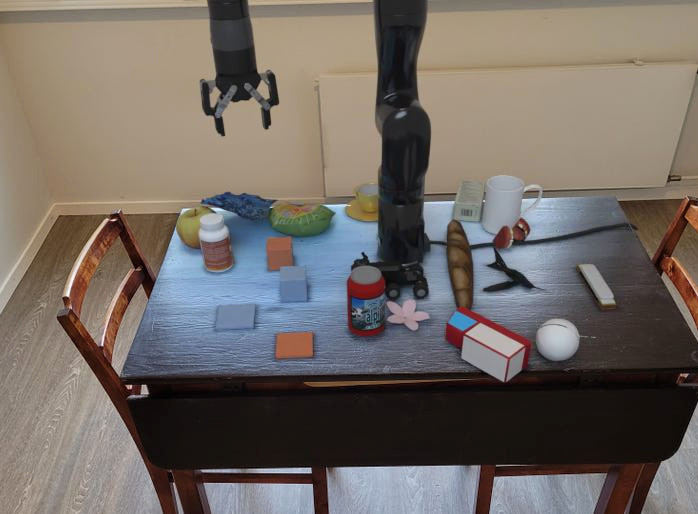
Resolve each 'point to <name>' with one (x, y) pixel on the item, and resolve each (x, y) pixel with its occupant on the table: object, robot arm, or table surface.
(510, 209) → the mug
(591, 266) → the harmonica
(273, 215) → the educational model
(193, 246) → the apple
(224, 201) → the rock
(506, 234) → the dentures model
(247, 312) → the slate-blue mat
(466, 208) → the cosmetic box
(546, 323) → the seamed sphere
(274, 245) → the terracotta block
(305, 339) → the terracotta mat
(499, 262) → the bird model
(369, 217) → the cup
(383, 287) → the beverage can
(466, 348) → the toy truck
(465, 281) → the bread
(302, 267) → the slate-blue block
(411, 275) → the toy vehicle
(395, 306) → the flower
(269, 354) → the table surface
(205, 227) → the pill bottle
